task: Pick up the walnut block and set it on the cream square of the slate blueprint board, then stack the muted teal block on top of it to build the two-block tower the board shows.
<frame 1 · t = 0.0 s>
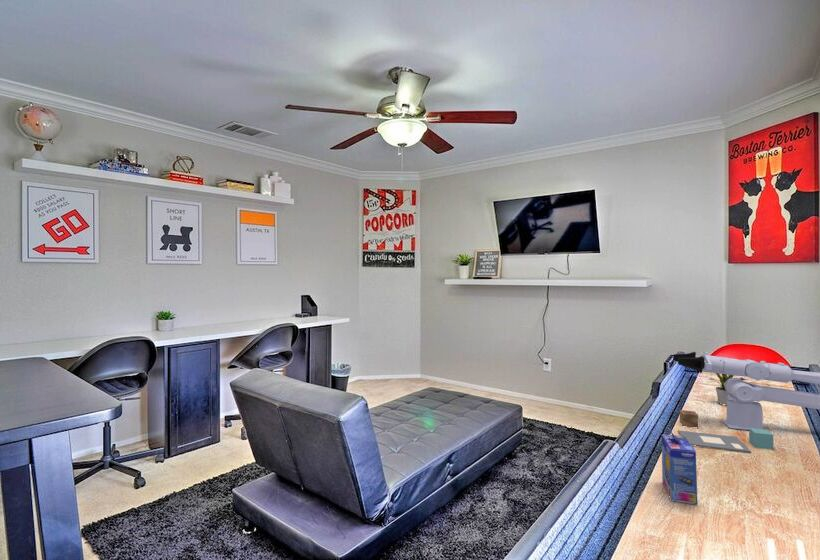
hand: (675, 359, 154), 22 cm above the table, tool horizontal, fingers open, 7 cm apart
house plant: (723, 405, 172), on the table
blueprint board: (712, 442, 133), on the table
walnut block: (688, 425, 148), on the table
ink cartridge box: (678, 493, 102), on the table
teal block: (760, 446, 130), on the table
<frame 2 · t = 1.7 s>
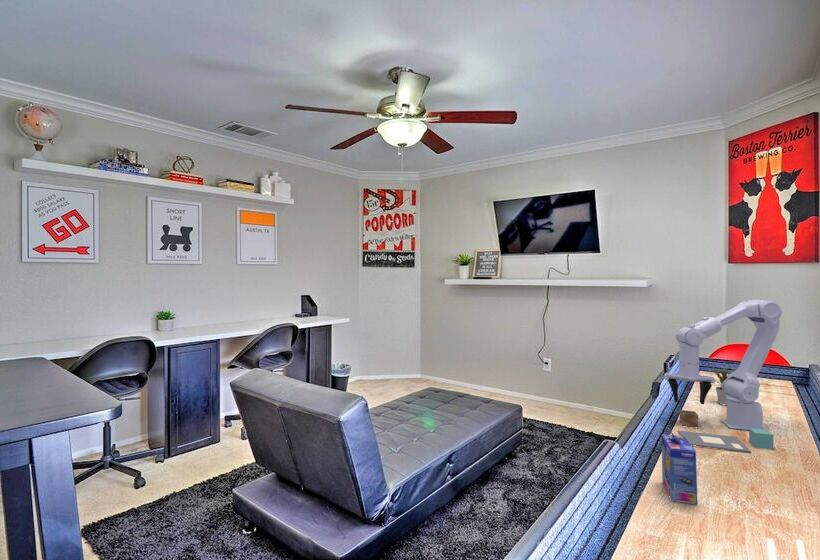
hand: (688, 402, 148), 8 cm above the table, tool pointing down, fingers open, 7 cm apart
nothing on the table moved.
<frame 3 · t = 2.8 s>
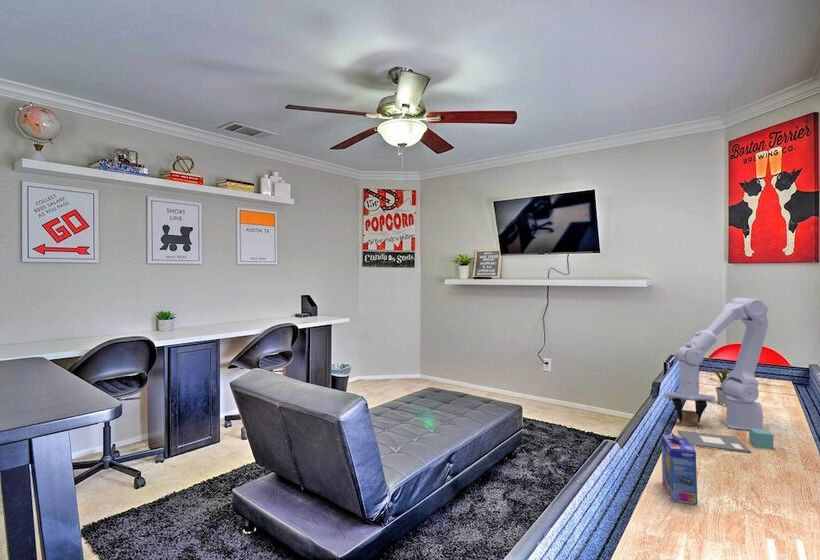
hand: (688, 421, 148), 1 cm above the table, tool pointing down, fingers closed on walnut block, 4 cm apart
walnut block: (688, 425, 148), on the table, touching gripper
everything else where it was.
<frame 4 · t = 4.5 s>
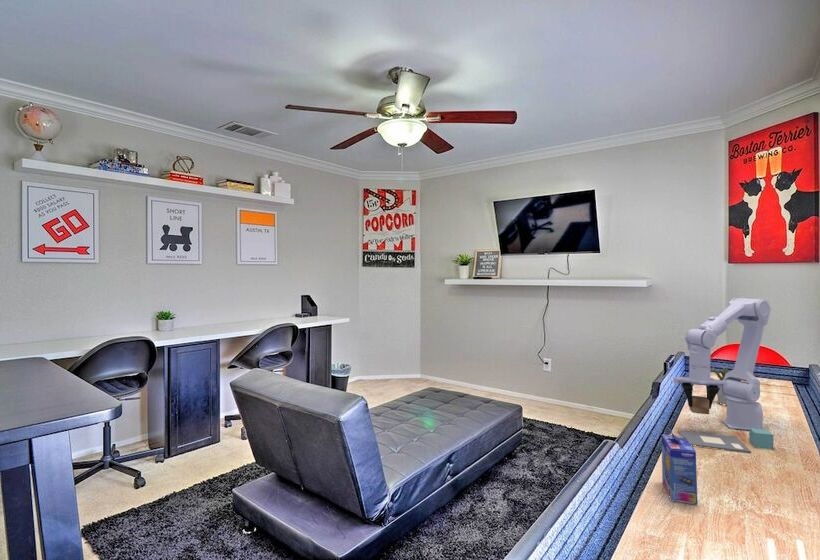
hand: (699, 407, 141), 8 cm above the table, tool pointing down, fingers closed on walnut block, 4 cm apart
walnut block: (699, 411, 141), point 7 cm above the table, touching gripper
everything else where it was.
when the fingers open (3 cm above the table, at t = 6.4 s): walnut block stays where it is, resting on blueprint board.
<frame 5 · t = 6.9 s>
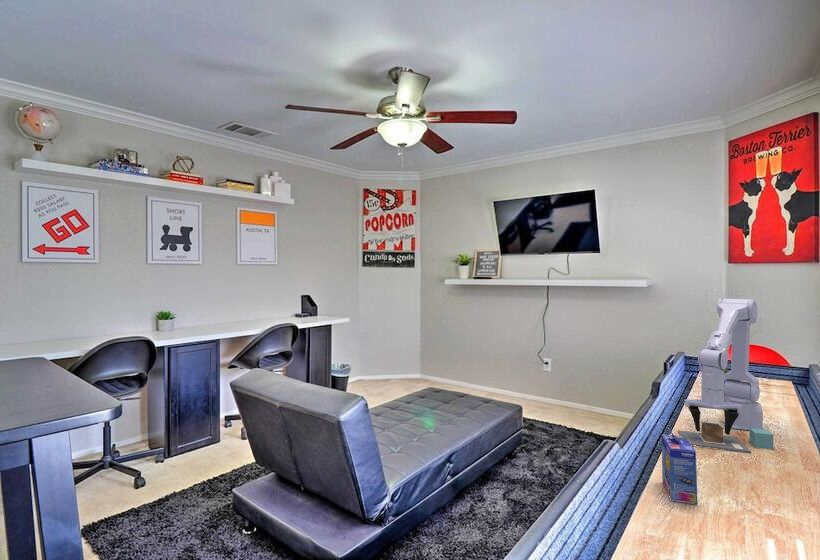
hand: (712, 432, 133), 3 cm above the table, tool pointing down, fingers open, 7 cm apart
walnut block: (711, 439, 133), point 1 cm above the table, touching blueprint board
everything else where it was.
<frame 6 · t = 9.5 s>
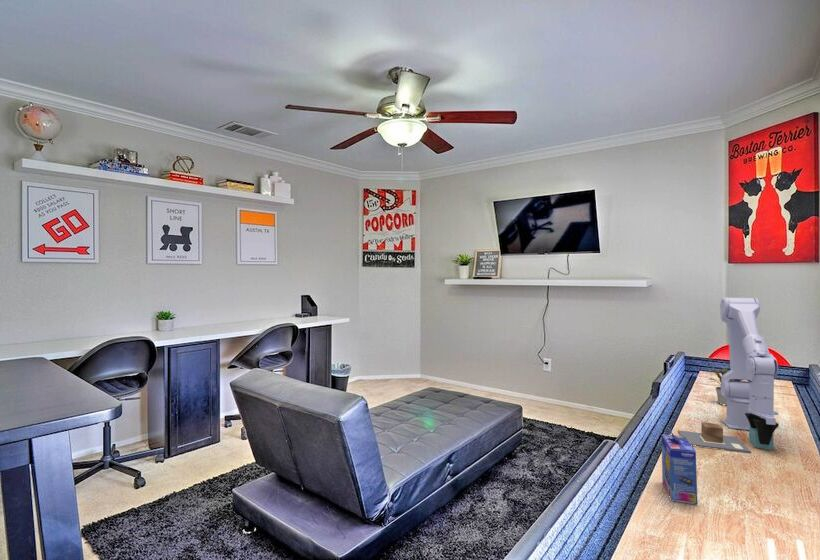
hand: (761, 441, 130), 1 cm above the table, tool pointing down, fingers closed on teal block, 4 cm apart
teal block: (760, 445, 130), on the table, touching gripper
everything else where it was.
when the fingers open (8 cm above the table, at t = 12.0 s): teal block drops 2 cm, resting on walnut block.
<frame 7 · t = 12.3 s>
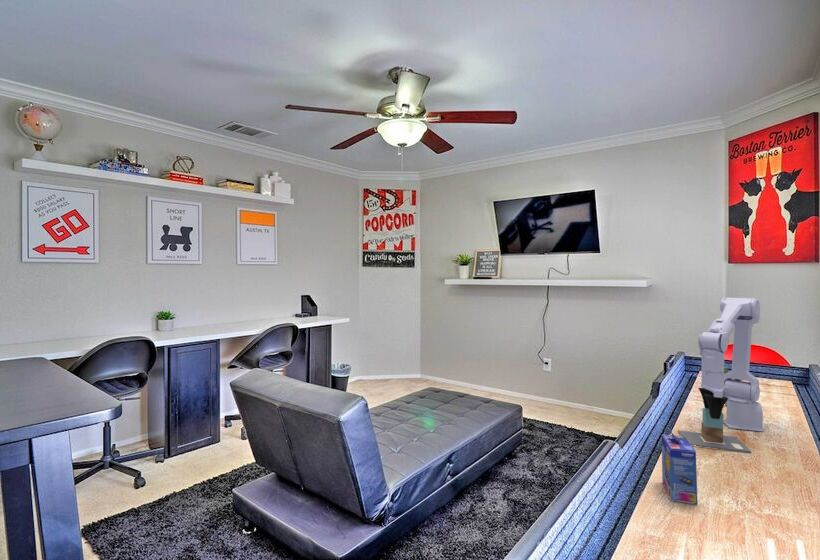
hand: (712, 415, 133), 8 cm above the table, tool pointing down, fingers open, 6 cm apart
walnut block: (711, 439, 133), point 1 cm above the table, touching blueprint board, teal block
teal block: (712, 425, 133), point 5 cm above the table, touching walnut block
everything else where it was.
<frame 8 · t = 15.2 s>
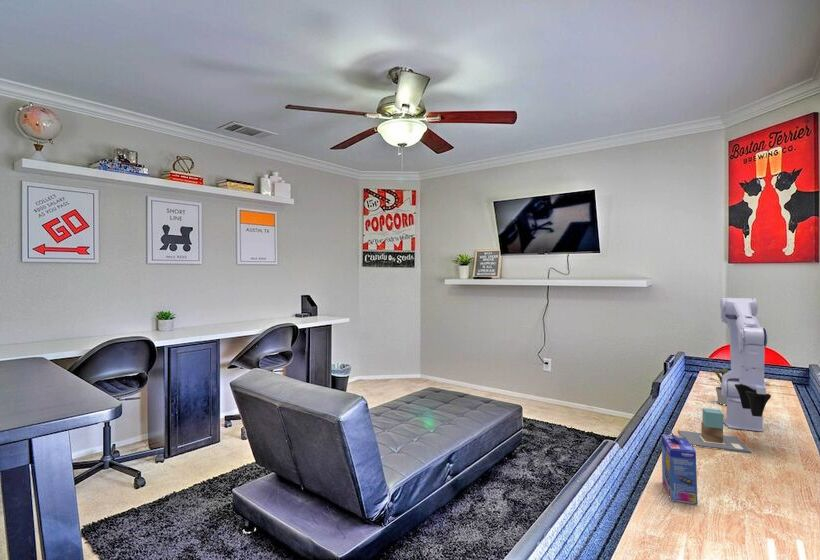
hand: (751, 412, 129), 10 cm above the table, tool pointing down, fingers open, 7 cm apart
nothing on the table moved.
at the end: walnut block 0.2 cm off-centre on the blueprint board, point 0.6 cm above the blueprint board's base; teal block 0.2 cm off-centre on the walnut block, point 4.5 cm above the walnut block's base; teal block tilted 0° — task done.
